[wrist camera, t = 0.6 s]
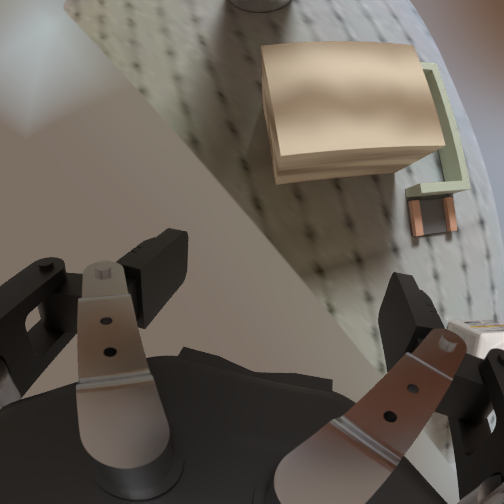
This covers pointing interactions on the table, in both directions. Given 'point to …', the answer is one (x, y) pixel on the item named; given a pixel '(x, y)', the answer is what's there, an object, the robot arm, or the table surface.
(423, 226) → the grey-green piece
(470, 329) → the container
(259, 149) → the table surface
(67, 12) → the table surface
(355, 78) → the ash block
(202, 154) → the table surface
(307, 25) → the table surface
